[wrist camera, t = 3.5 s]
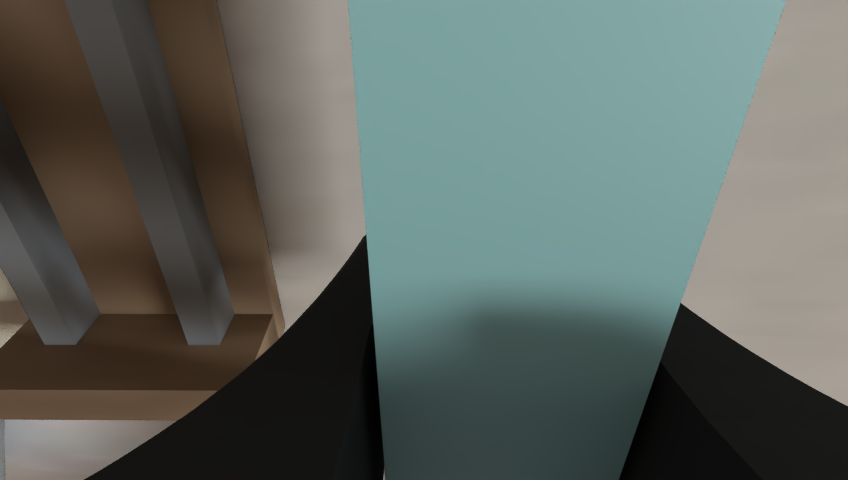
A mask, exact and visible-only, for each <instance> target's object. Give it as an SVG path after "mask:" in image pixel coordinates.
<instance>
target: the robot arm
mask: <svg viewBox="0 0 848 480" xmlns="http://www.w3.org/2000/svg"><path fill="white" fill-rule="evenodd" d="M383 474H384V453H383V441H382V428H381V415H380V402H379V390H378V377H377V364H376V351H375V339H374V326H373V313H372V300H371V287H370V275H369V262H368V249H367V236H366V235H365V236H364V237H363V238H362V240H361V242H360V243H359V245H358V246H357V247H356V249H355V250H354V252H353V253H352V255H351V256H350V257H349V259H348V260H347V261H346V263H345V264H344V265H343V267H342V268H341V269H340V271H339V272H338V273H337V275H336V276H335V277H334V278H333V279H332V281H331V282H330V283H329V284H328V286H327V287H326V288H325V289H324V290H323V292H322V293H321V294H320V295H319V296H318V298H317V299H316V300H315V301H314V302H313V303H312V304H311V305H310V307H309V308H308V309H307V310H306V311H305V312H304V313H303V314H302V315H301V316H300V317H299V318H298V319H297V321H296V322H295V323H294V324H293V325H292V326H291V327H290V328H289V329H288V330H287V331H286V332H285V333H284V334H283V335H282V336H281V337H280V338H279V339H278V340H277V341H276V342H275V343H274V344H273V345H272V346H271V347H269V348H268V349H267V350H266V351H265V352H264V353H263V354H262V355H261V356H260V357H258V358H257V359H256V360H255V361H254V362H253V363H252V364H251V365H249V366H248V367H247V368H246V369H245V370H244V371H242V372H241V373H240V374H239V375H237V376H236V377H235V378H234V379H232V380H231V381H230V382H229V383H227V384H226V385H225V386H224V387H222V388H221V389H220V390H218V391H217V392H216V393H214V394H213V395H212V396H210V397H209V398H208V399H207V400H205V401H204V402H203V403H201V404H200V405H199V406H197V407H196V408H195V409H193V410H192V411H191V412H189V413H188V414H186V415H185V416H184V417H182V418H181V419H179V420H178V421H176V422H175V423H173V424H172V425H170V426H169V427H167V428H166V429H165V430H163V431H162V432H160V433H159V434H157V435H156V436H154V437H153V438H151V439H149V440H148V441H146V442H145V443H143V444H142V445H140V446H139V447H137V448H135V449H134V450H132V451H131V452H129V453H128V454H126V455H125V456H123V457H121V458H120V459H118V460H117V461H115V462H113V463H112V464H110V465H108V466H107V467H105V468H103V469H102V470H100V471H98V472H97V473H95V474H93V475H91V476H90V477H88V478H86V479H84V480H383ZM619 480H848V406H846V405H844V404H842V403H840V402H838V401H836V400H835V399H833V398H831V397H829V396H827V395H825V394H823V393H821V392H819V391H817V390H816V389H814V388H812V387H810V386H808V385H807V384H805V383H803V382H801V381H800V380H798V379H796V378H794V377H792V376H791V375H789V374H787V373H786V372H784V371H782V370H781V369H779V368H777V367H776V366H774V365H772V364H771V363H769V362H767V361H766V360H764V359H763V358H761V357H759V356H758V355H756V354H754V353H753V352H751V351H749V350H748V349H746V348H745V347H743V346H741V345H740V344H738V343H737V342H735V341H734V340H732V339H731V338H729V337H728V336H726V335H725V334H723V333H722V332H720V331H719V330H718V329H716V328H715V327H713V326H712V325H710V324H709V323H708V322H706V321H705V320H703V319H702V318H701V317H699V316H698V315H696V314H695V313H693V312H692V311H691V310H689V309H688V308H687V307H685V306H684V305H683V304H681V303H680V306H679V308H678V311H677V314H676V317H675V320H674V323H673V326H672V329H671V331H670V334H669V337H668V340H667V343H666V346H665V349H664V351H663V354H662V357H661V360H660V363H659V366H658V369H657V371H656V374H655V377H654V380H653V383H652V386H651V389H650V392H649V394H648V397H647V400H646V403H645V406H644V409H643V412H642V414H641V417H640V420H639V423H638V426H637V429H636V432H635V434H634V437H633V440H632V443H631V446H630V449H629V452H628V455H627V457H626V460H625V463H624V466H623V469H622V472H621V475H620V477H619Z"/></svg>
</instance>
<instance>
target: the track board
mask: <svg viewBox="0 0 848 480" xmlns="http://www.w3.org/2000/svg"><path fill="white" fill-rule="evenodd" d="M0 267H1V269H2V270H3V272H4V274H5V276H6V278H7V279H8V281H9V283H10V285H11V286H12V288H13V290H14V292H15V293H16V295H17V297H18V299H19V300H20V302H21V304H22V306H23V307H24V309H25V311H26V313H27V314H28V316H29V318H30V319H29V320H28V321H27V322H26V323H25V324H24V325H23V326H22V327H21V328H20V329H19V330H18V331H17V332H16V333H15V334H14V335H13V336H12V337H11V338H10V339H9V340H8V341H7V342H6V343H5V344H4V345H3V346H2V347H1V348H0V419H32V420H179V419H181V418H182V417H184V416H185V415H186V414H188V413H189V412H191V411H192V410H193V409H195V408H196V407H197V406H199V405H200V404H201V403H203V402H204V401H205V400H207V399H208V398H209V397H210V396H212V395H213V394H214V393H216V392H217V391H218V390H220V389H221V388H222V387H224V386H225V385H226V384H227V383H229V382H230V381H231V380H232V379H234V378H235V377H236V376H237V375H239V374H240V373H241V372H242V371H244V370H245V369H246V368H247V367H248V366H249V365H251V364H252V363H253V362H254V361H255V360H256V359H257V358H258V357H260V356H261V355H262V354H263V353H264V352H265V351H266V350H267V349H268V348H269V347H271V346H272V345H273V344H274V343H275V342H276V341H277V340H278V339H279V338H280V337H281V336H282V334H283V331H284V329H285V323H284V318H283V314H282V309H281V304H280V299H279V295H278V290H277V285H276V281H275V276H274V271H273V266H272V262H271V257H270V252H269V248H268V243H267V238H266V233H265V229H264V224H263V219H262V215H261V210H260V205H259V200H258V196H257V191H256V186H255V182H254V177H253V172H252V167H251V163H250V158H249V153H248V149H247V144H246V139H245V134H244V130H243V125H242V120H241V116H240V111H239V106H238V101H237V97H236V92H235V87H234V83H233V78H232V73H231V69H230V64H229V59H228V54H227V50H226V45H225V40H224V36H223V31H222V26H221V21H220V17H219V12H218V7H217V3H216V0H0Z"/></svg>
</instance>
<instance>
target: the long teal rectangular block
mask: <svg viewBox="0 0 848 480" xmlns="http://www.w3.org/2000/svg"><path fill="white" fill-rule="evenodd" d="M785 2H786V0H348V6H349V19H350V32H351V45H352V57H353V70H354V83H355V96H356V109H357V121H358V134H359V147H360V160H361V172H362V185H363V198H364V211H365V224H366V236H367V249H368V262H369V275H370V287H371V300H372V313H373V326H374V339H375V351H376V364H377V377H378V390H379V402H380V415H381V428H382V441H383V453H384V466H385V479H386V480H619V477H620V475H621V472H622V469H623V466H624V463H625V460H626V457H627V455H628V452H629V449H630V446H631V443H632V440H633V437H634V434H635V432H636V429H637V426H638V423H639V420H640V417H641V414H642V412H643V409H644V406H645V403H646V400H647V397H648V394H649V392H650V389H651V386H652V383H653V380H654V377H655V374H656V371H657V369H658V366H659V363H660V360H661V357H662V354H663V351H664V349H665V346H666V343H667V340H668V337H669V334H670V331H671V329H672V326H673V323H674V320H675V317H676V314H677V311H678V308H679V306H680V303H681V300H682V297H683V294H684V291H685V288H686V286H687V283H688V280H689V277H690V274H691V271H692V268H693V266H694V263H695V260H696V257H697V254H698V251H699V248H700V246H701V243H702V240H703V237H704V234H705V231H706V228H707V225H708V223H709V220H710V217H711V214H712V211H713V208H714V205H715V203H716V200H717V197H718V194H719V191H720V188H721V185H722V183H723V180H724V177H725V174H726V171H727V168H728V165H729V162H730V160H731V157H732V154H733V151H734V148H735V145H736V142H737V140H738V137H739V134H740V131H741V128H742V125H743V122H744V120H745V117H746V114H747V111H748V108H749V105H750V102H751V99H752V97H753V94H754V91H755V88H756V85H757V82H758V79H759V77H760V74H761V71H762V68H763V65H764V62H765V59H766V57H767V54H768V51H769V48H770V45H771V42H772V39H773V36H774V34H775V31H776V28H777V25H778V22H779V19H780V16H781V14H782V11H783V8H784V5H785Z"/></svg>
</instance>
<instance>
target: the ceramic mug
mask: <svg viewBox="0 0 848 480" xmlns="http://www.w3.org/2000/svg"><path fill="white" fill-rule="evenodd" d="M0 480H5V449H4V419H0Z"/></svg>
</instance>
